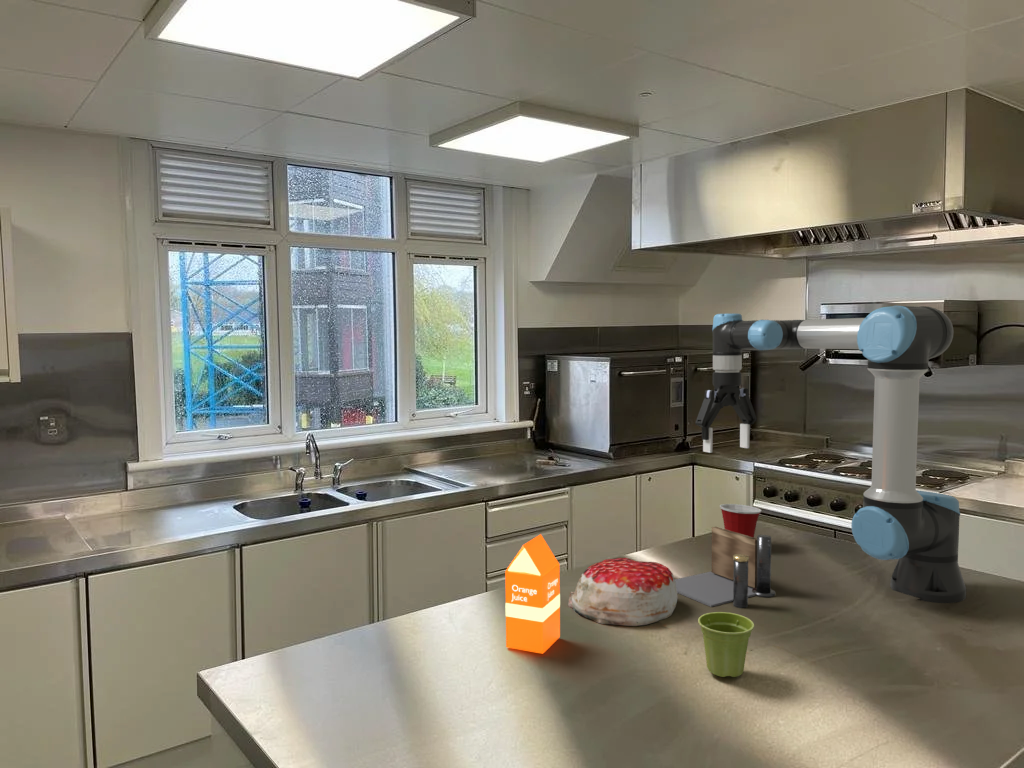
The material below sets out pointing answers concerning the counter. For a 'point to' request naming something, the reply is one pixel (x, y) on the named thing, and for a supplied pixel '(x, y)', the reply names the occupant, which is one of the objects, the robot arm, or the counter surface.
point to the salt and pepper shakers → (762, 573)
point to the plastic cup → (740, 518)
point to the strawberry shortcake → (625, 592)
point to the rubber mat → (708, 588)
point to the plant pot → (725, 642)
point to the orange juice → (533, 598)
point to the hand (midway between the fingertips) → (726, 449)
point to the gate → (733, 553)
